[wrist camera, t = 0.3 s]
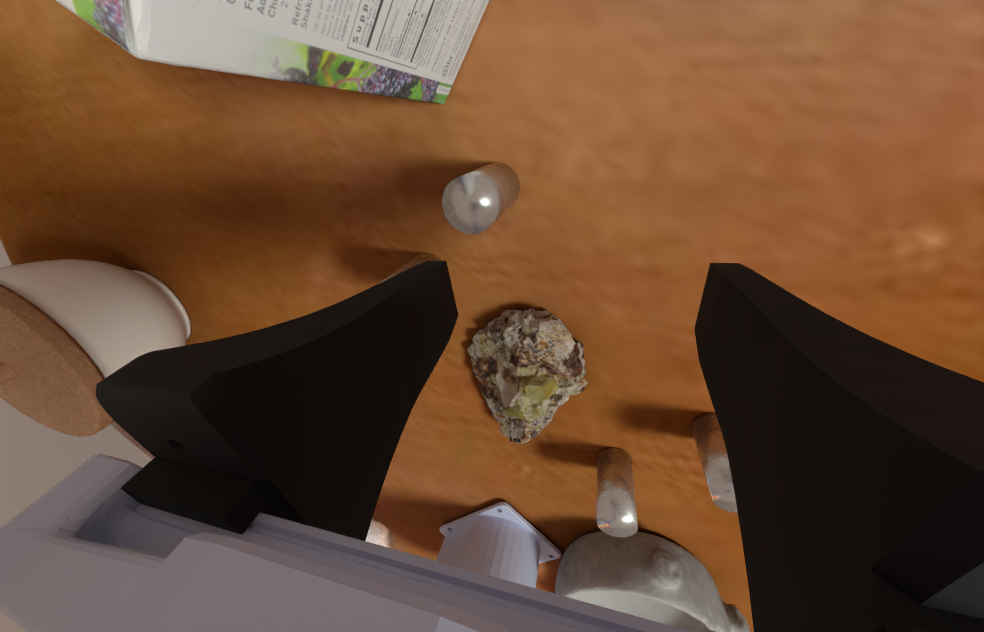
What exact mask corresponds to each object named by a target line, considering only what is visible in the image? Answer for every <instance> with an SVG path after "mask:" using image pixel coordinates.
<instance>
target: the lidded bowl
mask: <svg viewBox="0 0 984 632" xmlns="http://www.w3.org/2000/svg"><path fill="white" fill-rule="evenodd" d="M190 334H191V323H190V319H189V316H188V314H187V312H186V310H185V308H184V306H183V305H182V303H181V302H180V300H179V299H178V298H177V297H176V295H175V294H174V293H173V292H172V291H171V290H170V289H169V288H168V287H167V286H166V285H164V284H163V283H162V282H161V281H159V280H158V279H157V278H155V277H153V276H151V275H150V274H147V273H145V272H142V271H139V270H128V269H126V268H123V267H120V266H116V265H113V264H109V263H105V262H98V261H91V260H83V259H61V260H48V261H37V262H30V263H24V264H17V265H12V266H7V267H2V268H0V397H1V398H2V399H4V400H5V401H6V402H7V403H9V404H10V405H11V406H13V407H14V408H16V409H17V410H19V411H20V412H22V413H23V414H25V415H27V416H28V417H30V418H32V419H33V420H35V421H37V422H39V423H40V424H43V425H45V426H47V427H49V428H51V429H54V430H56V431H59V432H61V433H64V434H68V435H72V436H78V437H81V436H90V435H93V434H96V433H97V432H99V431H101V430H102V429H104V428H105V427H107V426H108V425H109V424H111V423H112V422H113V421H114V420H113V419H112V418H111V417H110V416H109V415H108V414H107V413H106V411H105V410H104V409H103V408H102V406H101V405H100V404H99V402H98V400H97V397H96V395H95V393H96V385H97V383H99V382H100V381H102V380H103V379H105V378H106V377H108V376H109V375H111V374H112V373H114V372H115V371H117V370H118V369H120V368H121V367H123V366H124V365H126V364H128V363H129V362H131V361H132V360H134V359H135V358H137V357H139V356H141V355H143V354H146V353H149V352H152V351H156V350H163V349H169V348H174V347H180V346H186V340H187V339H188V338H189V336H190Z"/></svg>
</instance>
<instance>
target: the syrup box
mask: <svg viewBox="0 0 984 632" xmlns="http://www.w3.org/2000/svg"><path fill="white" fill-rule="evenodd" d="M56 1H57V2H59V3H60V4H61V5H63V6H64V7H66V8H67V9H69V10H70V11H71V12H73V13H74V14H76V15H77V16H79V17H80V18H81V19H83V20H84V21H86V22H87V23H89V24H90V25H91V26H93V27H94V28H96V29H97V30H99V31H100V32H101V33H103V34H104V35H106V36H107V37H109V38H110V39H111V40H113V41H114V42H116V43H117V44H118V45H120V46H121V47H122V48H123V49H125V50H126V51H127V52H129V53H130V54H132V55H133V56H135V57H137V58H138V59H142V60H148V61H155V62H160V63H165V64H170V65H175V66H184V67H193V68H200V69H206V70H213V71H219V72H226V73H233V74H240V75H247V76H255V77H261V78H267V79H274V80H281V81H288V82H295V83H302V84H309V85H315V86H322V87H329V88H335V89H342V90H350V91H356V92H363V93H371V94H377V95H384V96H392V97H399V98H406V99H411V100H419V101H426V102H433V103H439V104H444V103H445V101H446V98H447V96H448V94H449V92H450V90H451V87H452V85H453V82H454V80H455V78H456V76H457V73H458V71H459V69H460V66H461V64H462V62H463V59H464V57H465V55H466V53H467V50H468V48H469V46H470V44H471V41H472V39H473V36H474V34H475V32H476V30H477V28H478V25H479V23H480V20H481V18H482V16H483V13H484V11H485V9H486V6H487V4H488V2H489V0H56Z"/></svg>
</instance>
